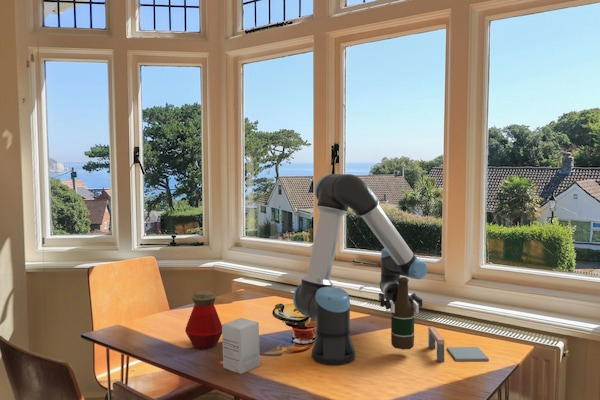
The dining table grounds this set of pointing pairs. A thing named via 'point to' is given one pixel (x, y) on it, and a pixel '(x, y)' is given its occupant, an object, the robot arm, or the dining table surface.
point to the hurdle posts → (439, 347)
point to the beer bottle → (402, 318)
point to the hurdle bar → (436, 335)
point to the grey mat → (467, 354)
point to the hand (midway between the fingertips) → (405, 308)
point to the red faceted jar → (204, 321)
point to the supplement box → (240, 345)
